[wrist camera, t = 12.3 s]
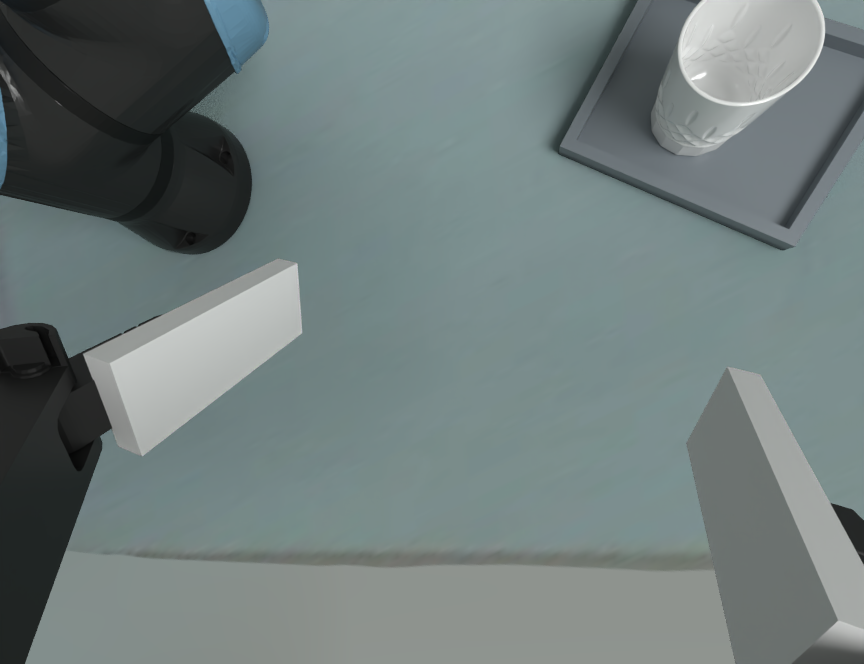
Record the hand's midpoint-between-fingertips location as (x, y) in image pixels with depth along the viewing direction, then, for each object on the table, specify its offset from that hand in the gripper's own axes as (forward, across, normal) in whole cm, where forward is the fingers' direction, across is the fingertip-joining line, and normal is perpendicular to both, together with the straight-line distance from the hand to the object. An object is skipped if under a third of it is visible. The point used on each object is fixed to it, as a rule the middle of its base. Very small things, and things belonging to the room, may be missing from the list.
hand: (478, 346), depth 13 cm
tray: (+35, +11, +7) cm, 37 cm away
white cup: (+34, +9, +6) cm, 36 cm away
